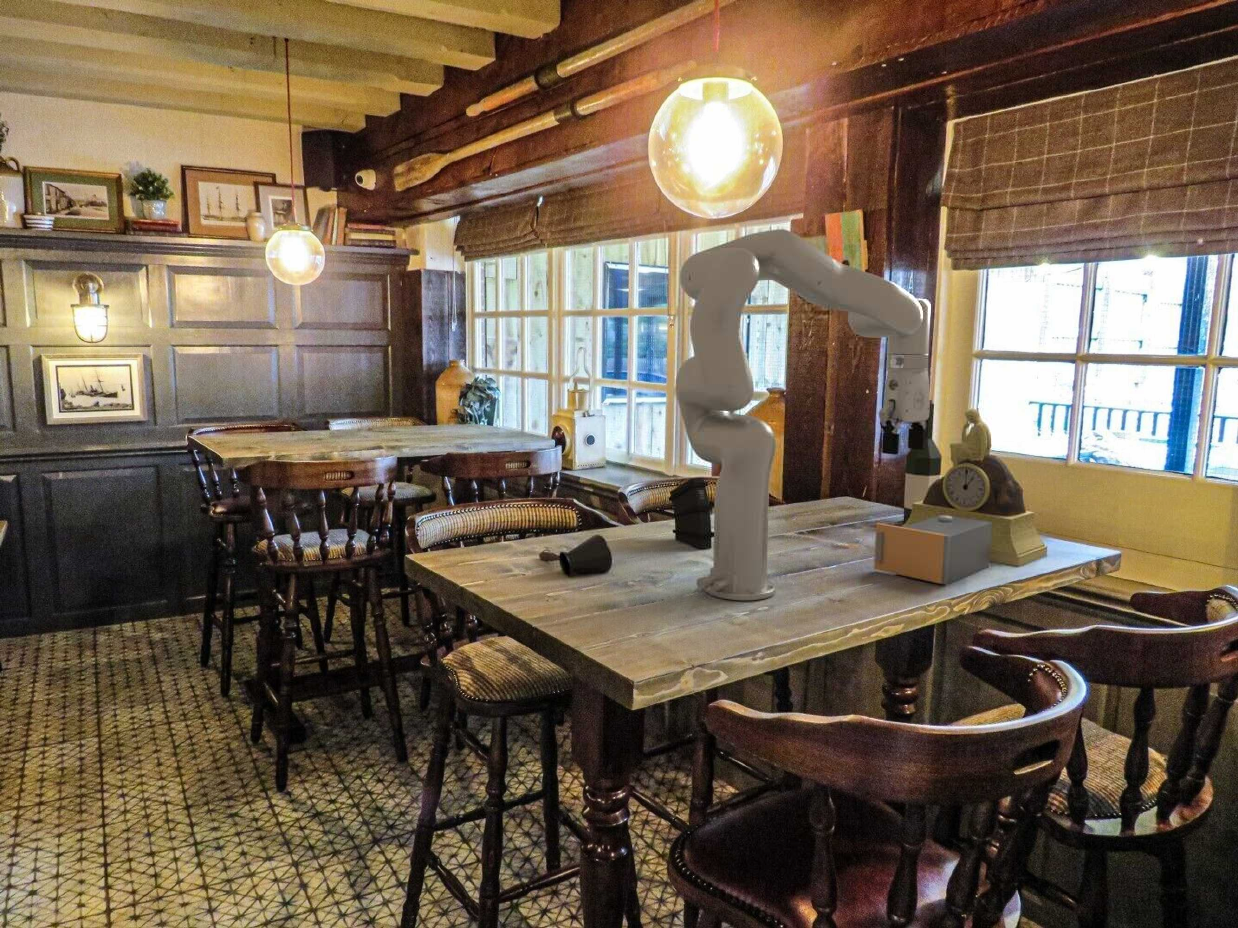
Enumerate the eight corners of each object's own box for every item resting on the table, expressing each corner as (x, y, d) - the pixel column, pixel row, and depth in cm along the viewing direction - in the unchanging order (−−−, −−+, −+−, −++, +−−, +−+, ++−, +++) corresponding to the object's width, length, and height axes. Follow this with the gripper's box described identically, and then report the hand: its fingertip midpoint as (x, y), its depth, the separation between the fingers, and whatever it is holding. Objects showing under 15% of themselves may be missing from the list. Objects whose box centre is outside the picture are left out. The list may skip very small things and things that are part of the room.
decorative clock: (892, 541, 192) (898, 406, 187) (922, 532, 200) (929, 403, 195) (1018, 567, 170) (1028, 416, 166) (1046, 555, 179) (1057, 412, 174)
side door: (944, 585, 156) (946, 536, 155) (872, 569, 167) (874, 524, 165) (948, 583, 157) (950, 535, 156) (876, 567, 168) (878, 522, 166)
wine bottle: (944, 528, 204) (951, 401, 199) (908, 527, 204) (915, 401, 199) (931, 520, 212) (938, 398, 207) (897, 520, 212) (903, 398, 207)
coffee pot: (616, 573, 165) (576, 585, 161) (577, 563, 181) (540, 574, 177) (608, 535, 164) (568, 547, 161) (570, 528, 180) (533, 539, 177)
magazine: (706, 546, 180) (691, 478, 184) (677, 559, 192) (663, 494, 195) (721, 544, 182) (706, 476, 186) (692, 557, 193) (677, 493, 197)
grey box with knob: (946, 585, 158) (949, 533, 156) (896, 574, 165) (898, 524, 163) (994, 564, 172) (997, 516, 170) (946, 555, 179) (948, 509, 177)
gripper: (901, 365, 158) (897, 457, 160) (947, 362, 169) (942, 449, 172) (865, 364, 163) (862, 453, 166) (912, 361, 175) (908, 445, 177)
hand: (903, 451), depth 169 cm, fingers open, 9 cm apart
